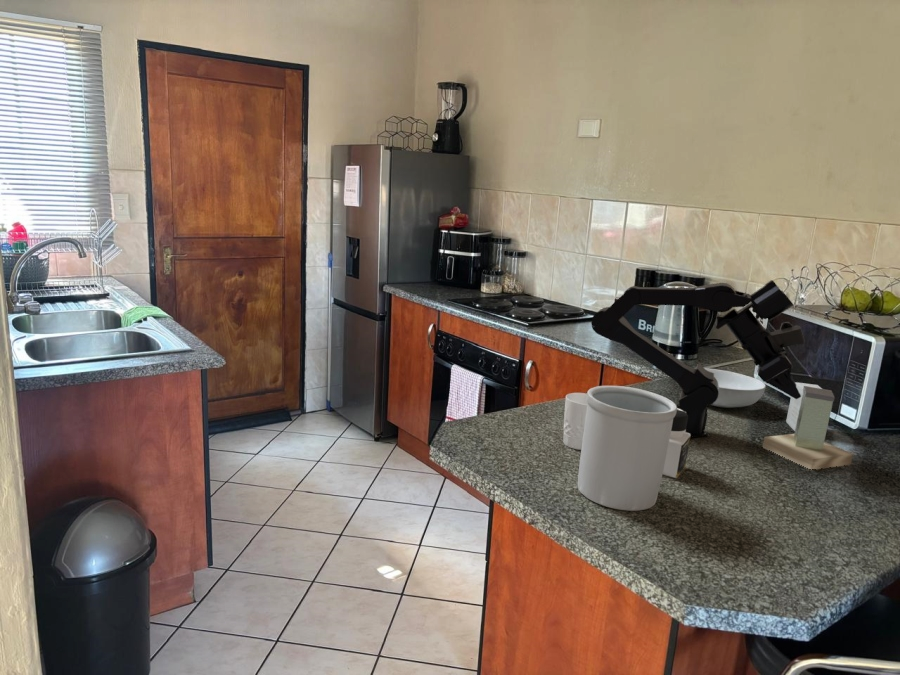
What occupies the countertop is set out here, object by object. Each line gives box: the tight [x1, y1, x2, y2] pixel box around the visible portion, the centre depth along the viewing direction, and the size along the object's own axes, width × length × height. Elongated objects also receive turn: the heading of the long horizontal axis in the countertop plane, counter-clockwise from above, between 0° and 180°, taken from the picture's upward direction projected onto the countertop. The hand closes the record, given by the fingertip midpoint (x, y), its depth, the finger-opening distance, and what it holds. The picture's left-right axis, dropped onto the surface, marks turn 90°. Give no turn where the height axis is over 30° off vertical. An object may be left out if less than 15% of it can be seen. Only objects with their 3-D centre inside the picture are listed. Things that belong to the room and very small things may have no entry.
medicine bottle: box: [662, 408, 692, 479], centre depth 126 cm, size 7×7×12 cm
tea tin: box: [793, 386, 836, 451], centre depth 138 cm, size 5×5×12 cm
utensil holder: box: [577, 385, 677, 512], centre depth 113 cm, size 15×15×18 cm
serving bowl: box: [703, 367, 767, 409], centre depth 173 cm, size 21×21×7 cm
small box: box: [785, 381, 823, 432], centre depth 157 cm, size 8×6×10 cm
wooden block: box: [762, 433, 854, 471], centre depth 140 cm, size 12×12×3 cm
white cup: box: [562, 392, 588, 451], centre depth 135 cm, size 8×8×10 cm
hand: (796, 392), depth 139 cm, fingers open, 9 cm apart
